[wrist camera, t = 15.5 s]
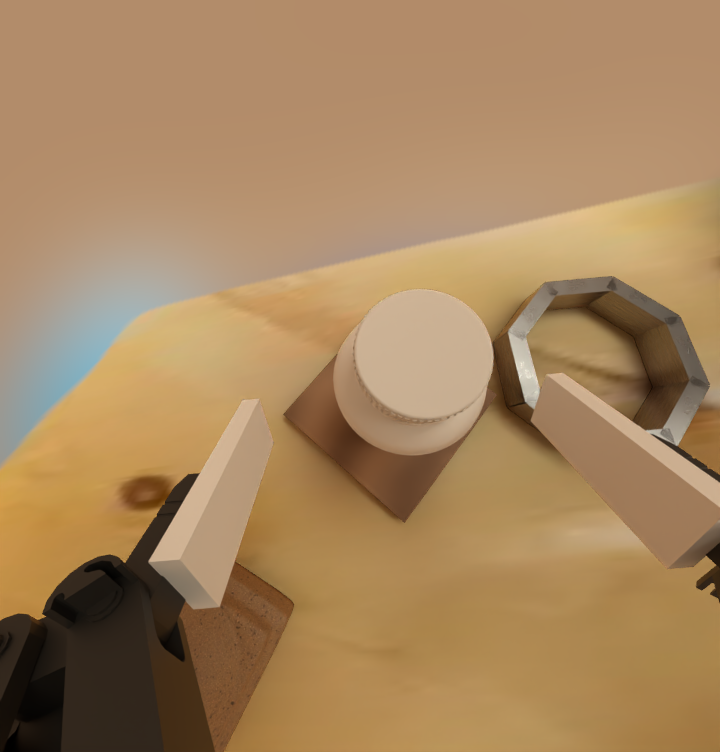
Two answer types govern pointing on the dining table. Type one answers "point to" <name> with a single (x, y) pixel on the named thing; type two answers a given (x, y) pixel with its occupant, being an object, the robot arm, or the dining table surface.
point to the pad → (369, 448)
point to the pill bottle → (414, 372)
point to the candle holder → (234, 647)
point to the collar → (633, 315)
